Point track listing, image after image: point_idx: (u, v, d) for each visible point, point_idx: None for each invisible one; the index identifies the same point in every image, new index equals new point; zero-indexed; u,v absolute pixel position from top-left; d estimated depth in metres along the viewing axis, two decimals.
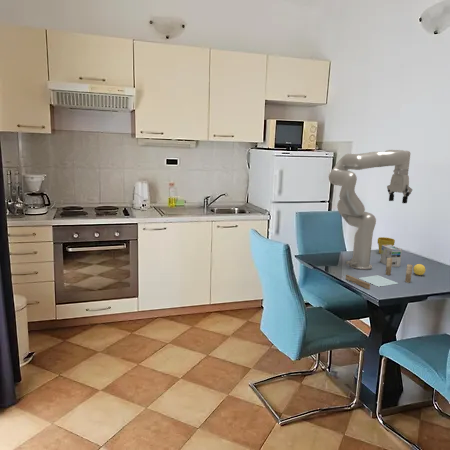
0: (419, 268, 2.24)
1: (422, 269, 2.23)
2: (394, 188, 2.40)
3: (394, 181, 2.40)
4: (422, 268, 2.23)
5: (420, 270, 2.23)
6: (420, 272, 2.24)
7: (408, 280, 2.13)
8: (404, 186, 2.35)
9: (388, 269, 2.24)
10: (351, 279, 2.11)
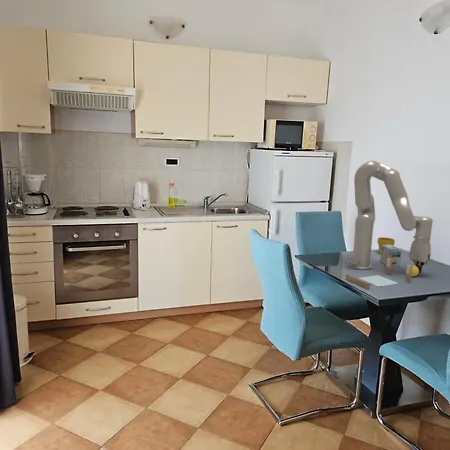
0: (413, 275, 2.22)
1: (415, 274, 2.21)
2: (415, 256, 2.24)
3: (415, 249, 2.24)
4: (414, 273, 2.21)
5: (415, 275, 2.22)
6: None
7: (408, 280, 2.13)
8: (426, 256, 2.19)
9: (388, 269, 2.24)
10: (351, 279, 2.11)
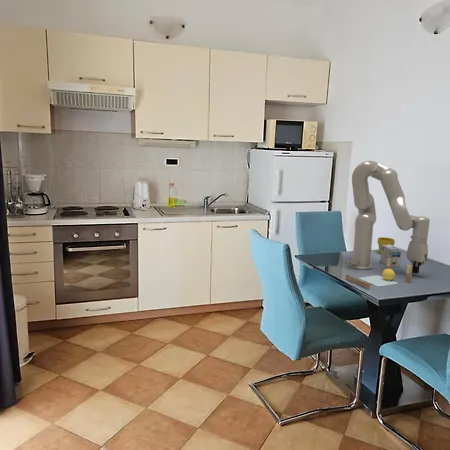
0: (388, 279, 2.14)
1: (390, 277, 2.13)
2: (412, 256, 2.23)
3: (412, 249, 2.23)
4: (389, 277, 2.13)
5: (390, 279, 2.14)
6: None
7: (408, 280, 2.13)
8: (423, 256, 2.18)
9: None
10: (351, 279, 2.11)
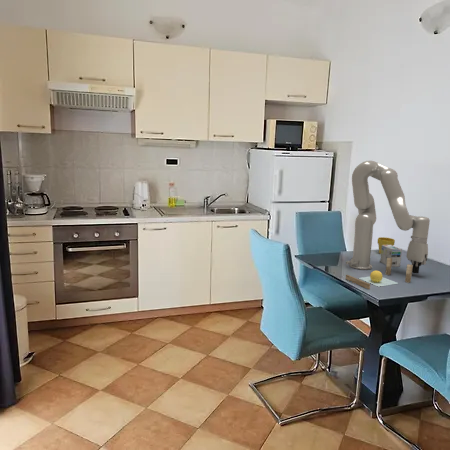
0: (381, 274, 2.11)
1: (382, 276, 2.10)
2: (412, 256, 2.23)
3: (412, 249, 2.23)
4: (382, 276, 2.10)
5: (381, 274, 2.10)
6: (379, 273, 2.09)
7: (408, 280, 2.13)
8: (423, 256, 2.18)
9: (388, 269, 2.24)
10: (351, 279, 2.11)
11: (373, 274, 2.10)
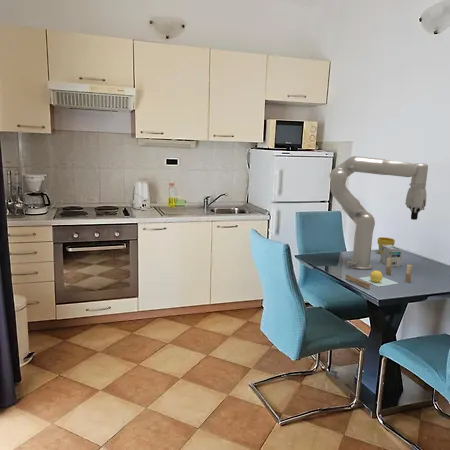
0: (381, 274, 2.11)
1: (382, 276, 2.10)
2: (410, 203, 2.28)
3: (410, 195, 2.28)
4: (382, 276, 2.10)
5: (381, 274, 2.10)
6: (379, 273, 2.09)
7: (408, 280, 2.13)
8: (421, 201, 2.23)
9: (388, 269, 2.24)
10: (351, 279, 2.11)
11: (373, 274, 2.10)
